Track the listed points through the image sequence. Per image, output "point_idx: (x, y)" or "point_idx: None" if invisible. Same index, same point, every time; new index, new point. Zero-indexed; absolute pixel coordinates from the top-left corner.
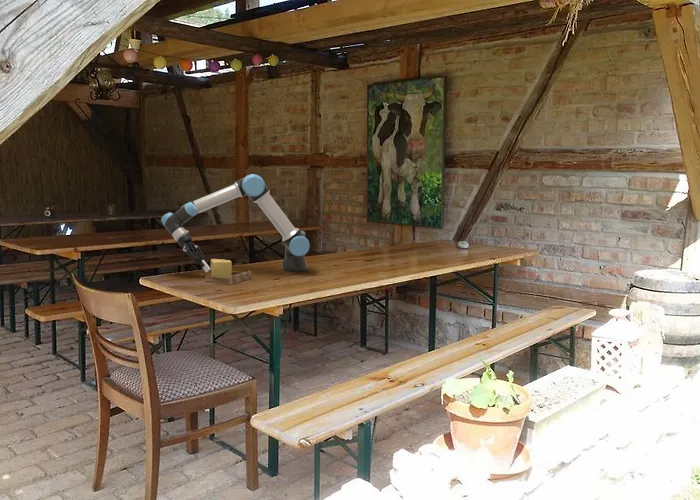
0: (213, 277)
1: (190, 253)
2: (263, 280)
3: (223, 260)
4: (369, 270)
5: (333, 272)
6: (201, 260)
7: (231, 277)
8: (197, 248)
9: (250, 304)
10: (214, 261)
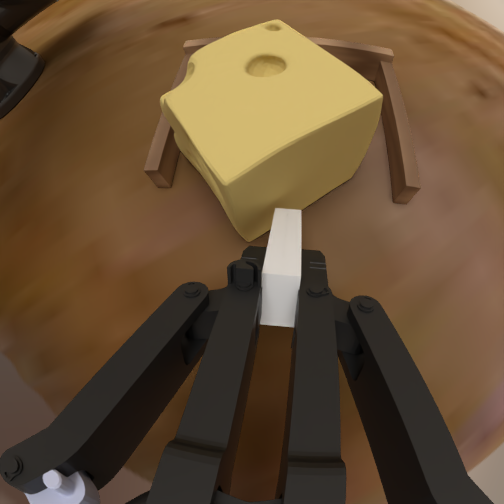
0: (410, 135)
1: (433, 421)
2: (221, 29)
3: (229, 72)
4: (48, 13)
5: (63, 21)
6: (260, 308)
7: (387, 50)
8: (84, 461)
9: (496, 29)
10: (330, 102)
